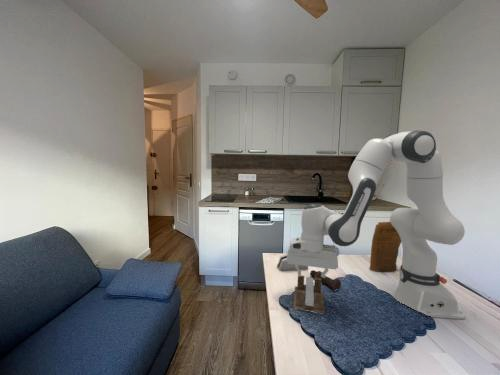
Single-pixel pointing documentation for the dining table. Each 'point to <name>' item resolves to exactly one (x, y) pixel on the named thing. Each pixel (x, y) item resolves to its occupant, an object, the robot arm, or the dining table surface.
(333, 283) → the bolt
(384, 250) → the pancake mix bag
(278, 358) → the dining table surface
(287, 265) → the grey napkin holder
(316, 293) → the clevis block
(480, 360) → the dining table surface
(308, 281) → the steel pin
